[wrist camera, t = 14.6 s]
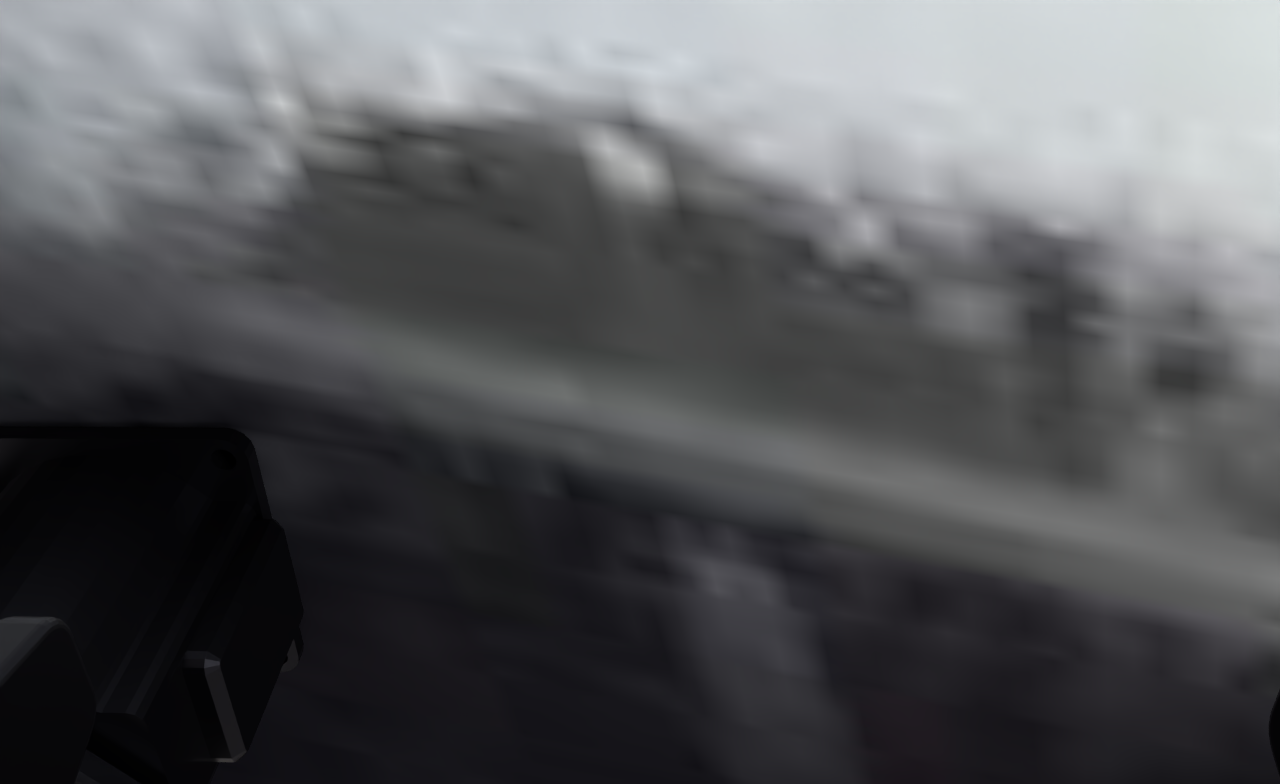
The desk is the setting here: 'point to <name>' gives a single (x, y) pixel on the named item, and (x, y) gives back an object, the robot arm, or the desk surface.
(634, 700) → the desk surface
